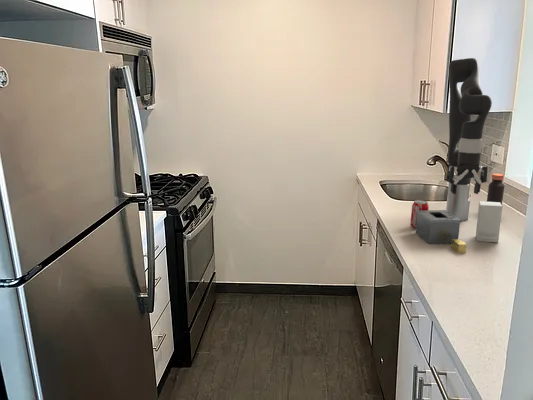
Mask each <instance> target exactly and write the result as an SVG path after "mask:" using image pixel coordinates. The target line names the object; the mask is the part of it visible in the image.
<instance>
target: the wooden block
mask: <svg viewBox="0 0 533 400" xmlns="http://www.w3.org/2000/svg"><path fill="white" fill-rule="evenodd" d="M450 245H451V246H450V247H451V249H452V250H454V251H455V252H456V253H458V254H464V253H465V254H466V253H467V246H468V244H467V243H466V242H464V241H463V240H462V239H460V238H458V239H452V244H450Z"/></svg>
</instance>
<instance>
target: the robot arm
mask: <svg viewBox="0 0 533 400" xmlns="http://www.w3.org/2000/svg"><path fill="white" fill-rule="evenodd" d="M480 75H481V74H480V66H479V62H478V60H477V59H476V58H475V57H470V58H469V57H468V58H460V59H454V60H451V61H450V63H449V66H448V83H449V113H448V126H449V128H448V130H449V131H448V132H449V134H448V135H449V138H448V140H449V141H448V153H447V165H448V168H447V174H446V179H445V180H446V182H447V183H448V187H447V198H446V206H445V210H446V211H447V212H449V213H450V214H452V215H454V216H455V217H457V218H458V219H460V222H462V221H468V220H469V215H470V205H471V200H470V199H469V198H470V190H471V189H470V188H471V179H473V181H474V188H473V194H475V195H479V193H480V192H481V187H482V186H481V185H482V184H483V183H487V180H488V166H485V165H481V166H480V163H481V155H482V146H483V143H482V139H483V134H484V126H485V122H486V120H487V117H488V116H489V113H490V111H491V108H492V103H493V102H492V98H491V96H489V95H487V94H483V93H484V92H483V90H482V86H481V85H480V84H481V81H480V79H481V78H480V77H481V76H480ZM459 83H462V84H461V86H460V89H459V85H458V84H459ZM473 115H474V116H477V117H476V118H475V119H474V120H473ZM458 143H459V144H458ZM458 145H459V147H458ZM455 172H456V173H455ZM479 172H480V175H479V174H478V173H479ZM454 173H455V174H454Z"/></svg>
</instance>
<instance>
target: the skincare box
mask: <svg viewBox="0 0 533 400" xmlns="http://www.w3.org/2000/svg"><path fill="white" fill-rule="evenodd" d="M502 212H503V204H502V205H501V203H500V202H487V201H484V200H482V201H481V200H480V201H478V209H477V221H476V229H475V239H476V241H477V242H486V243H487V242H488V243H499V239H500V231H501V222H502V221H501V220H502Z"/></svg>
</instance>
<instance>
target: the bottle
mask: <svg viewBox="0 0 533 400" xmlns="http://www.w3.org/2000/svg"><path fill="white" fill-rule="evenodd" d="M503 181H504V174H502V173H492V174H491V182H489V184H488V187H487V189H488V190H487V195H486V202H500V203H501V205H502V206H503V199H504V191H505V184H504V183H503Z"/></svg>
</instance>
